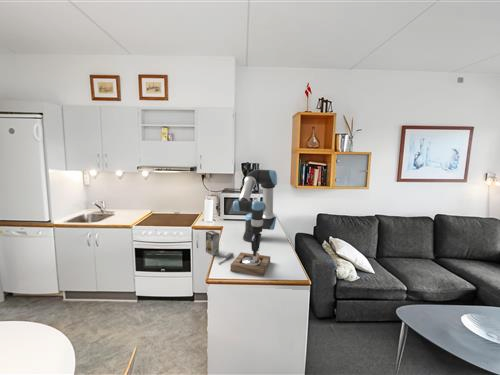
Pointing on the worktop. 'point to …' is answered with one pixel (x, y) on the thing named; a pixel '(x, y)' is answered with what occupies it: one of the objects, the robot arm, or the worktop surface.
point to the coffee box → (212, 242)
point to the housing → (250, 269)
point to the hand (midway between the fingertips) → (254, 260)
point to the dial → (251, 261)
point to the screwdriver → (226, 257)
